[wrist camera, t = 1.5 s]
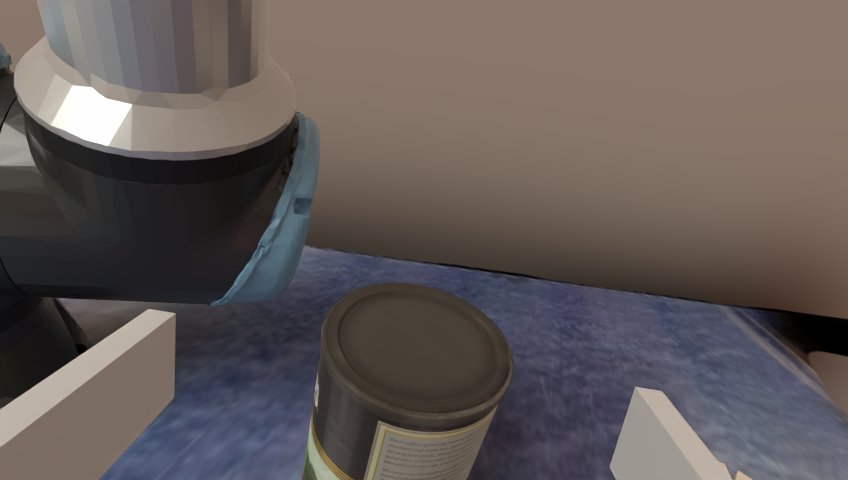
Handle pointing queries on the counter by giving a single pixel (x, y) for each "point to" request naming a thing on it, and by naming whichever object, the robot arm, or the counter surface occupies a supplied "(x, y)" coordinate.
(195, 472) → the counter surface
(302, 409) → the counter surface
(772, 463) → the counter surface
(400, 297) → the coffee can
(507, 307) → the counter surface
